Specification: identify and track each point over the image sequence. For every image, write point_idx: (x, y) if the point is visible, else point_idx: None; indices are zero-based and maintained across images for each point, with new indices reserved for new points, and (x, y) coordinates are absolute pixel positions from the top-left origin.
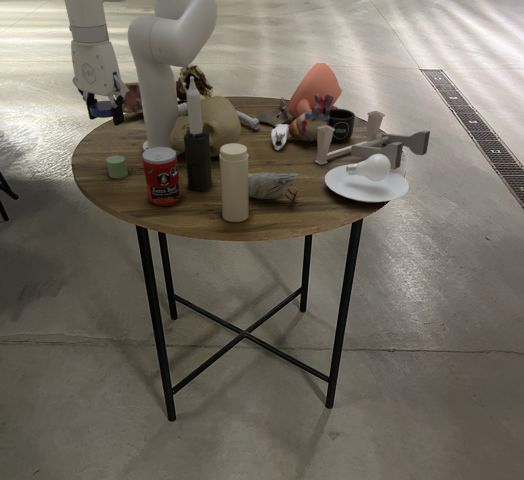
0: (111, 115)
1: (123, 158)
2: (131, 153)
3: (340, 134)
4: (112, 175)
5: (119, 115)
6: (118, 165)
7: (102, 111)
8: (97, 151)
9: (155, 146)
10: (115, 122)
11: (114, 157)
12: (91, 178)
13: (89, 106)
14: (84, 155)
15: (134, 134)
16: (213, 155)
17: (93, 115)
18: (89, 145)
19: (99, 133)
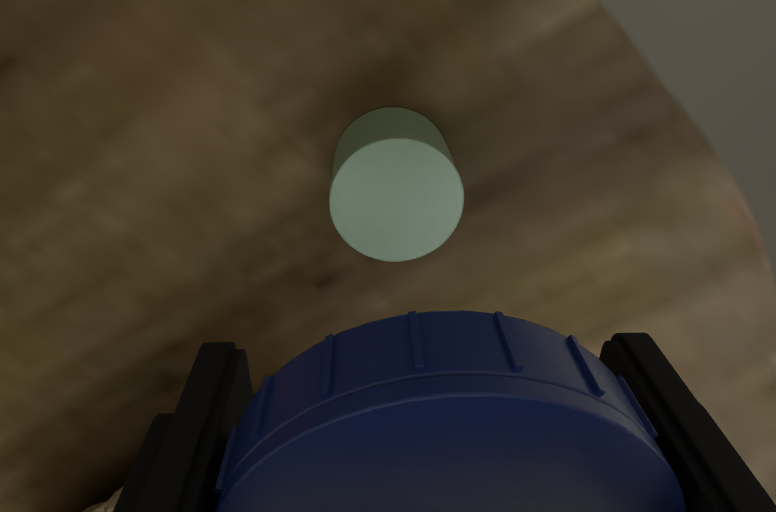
0: (235, 432)
1: (357, 239)
2: None
3: None
4: (388, 111)
5: (135, 476)
6: (340, 159)
7: (306, 420)
8: (677, 320)
9: None
10: (195, 366)
11: (422, 221)
12: (513, 29)
13: (658, 456)
14: (726, 254)
15: None
16: (94, 505)
17: (497, 318)
18: (755, 349)
19: (765, 454)
